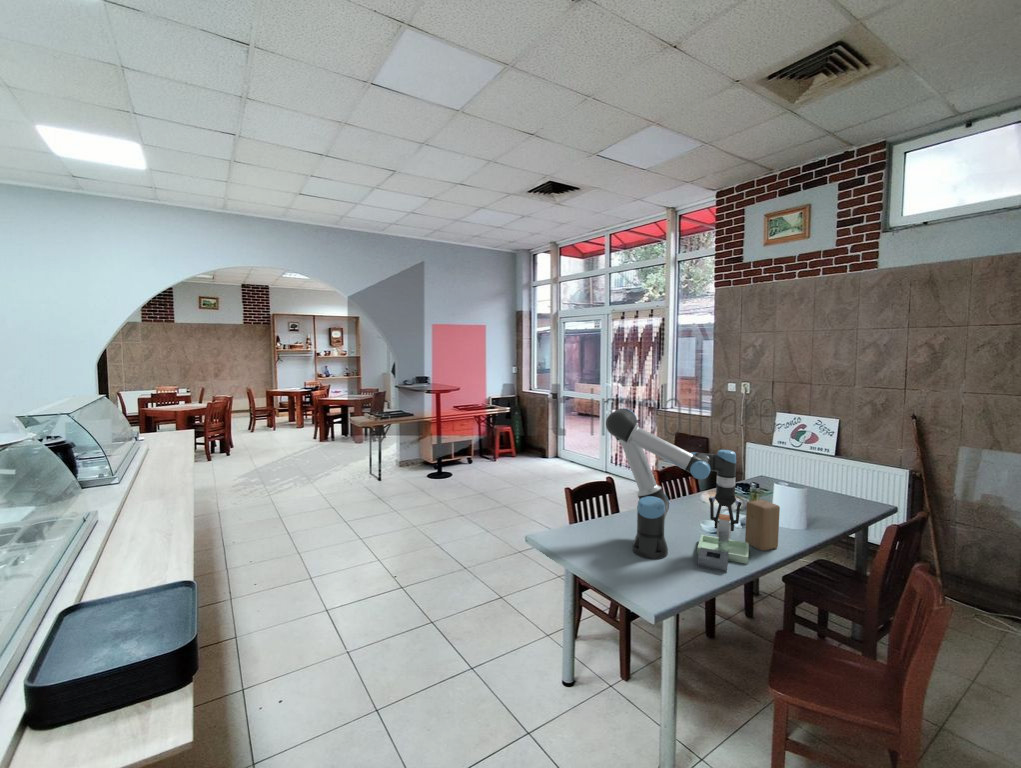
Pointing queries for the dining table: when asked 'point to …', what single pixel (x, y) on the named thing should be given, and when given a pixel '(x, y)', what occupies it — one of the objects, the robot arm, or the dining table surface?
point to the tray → (736, 548)
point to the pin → (723, 532)
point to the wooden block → (762, 524)
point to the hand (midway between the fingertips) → (723, 536)
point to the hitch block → (713, 559)
